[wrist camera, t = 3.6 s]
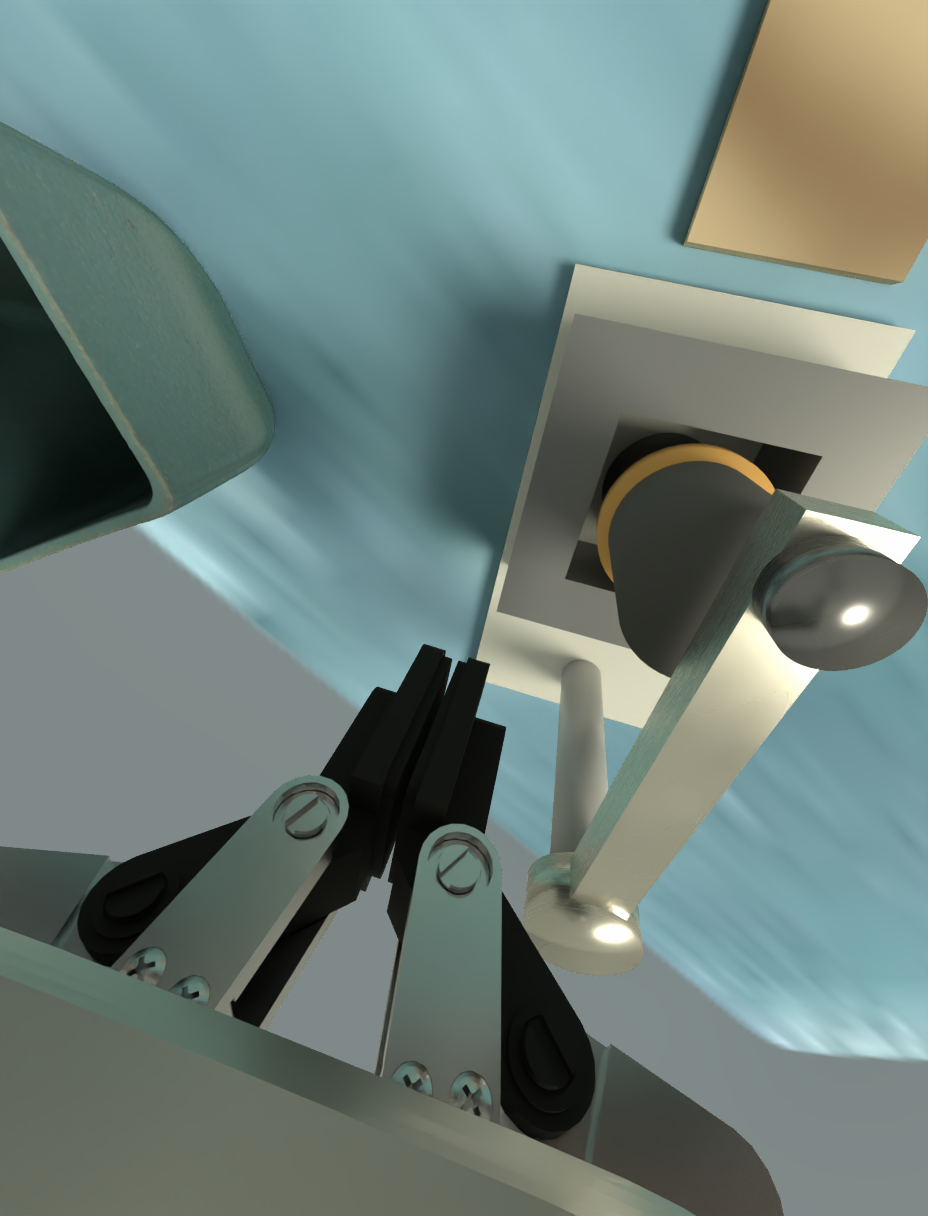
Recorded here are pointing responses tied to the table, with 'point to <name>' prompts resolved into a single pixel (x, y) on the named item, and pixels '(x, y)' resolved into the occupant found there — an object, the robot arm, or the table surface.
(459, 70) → the table surface
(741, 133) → the cork mat
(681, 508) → the plug
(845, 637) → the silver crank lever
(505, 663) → the socket plate
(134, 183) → the table surface
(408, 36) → the table surface
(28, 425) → the flower pot
